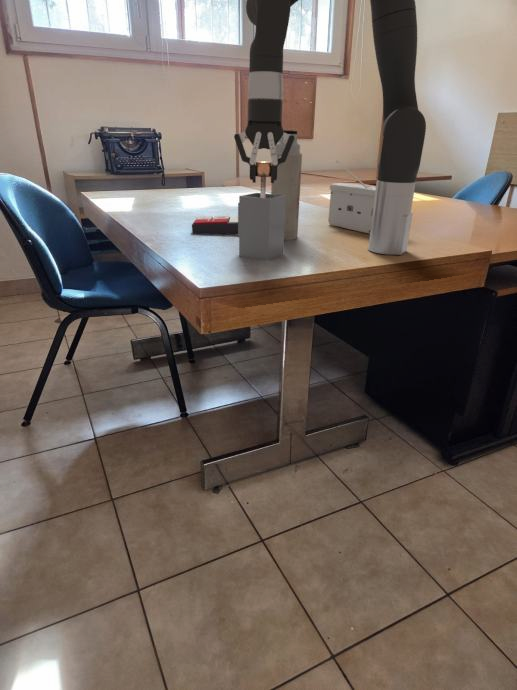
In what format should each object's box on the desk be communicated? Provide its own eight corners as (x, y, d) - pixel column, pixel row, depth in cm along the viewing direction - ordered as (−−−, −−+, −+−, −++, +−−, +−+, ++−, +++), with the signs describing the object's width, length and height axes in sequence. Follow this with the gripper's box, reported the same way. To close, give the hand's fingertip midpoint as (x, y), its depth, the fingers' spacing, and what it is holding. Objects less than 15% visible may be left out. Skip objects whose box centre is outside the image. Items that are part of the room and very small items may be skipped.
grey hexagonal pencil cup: (283, 253, 113) (285, 195, 107) (267, 260, 107) (269, 199, 101) (248, 248, 118) (248, 191, 112) (231, 254, 111) (231, 195, 105)
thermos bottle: (298, 234, 134) (305, 130, 122) (295, 240, 127) (301, 130, 115) (272, 233, 135) (275, 129, 123) (267, 238, 128) (270, 129, 116)
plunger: (278, 248, 112) (281, 162, 104) (266, 253, 107) (269, 163, 99) (257, 245, 115) (258, 160, 106) (244, 250, 110) (245, 161, 101)
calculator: (196, 215, 141) (244, 214, 141) (197, 229, 143) (244, 228, 143) (191, 222, 131) (242, 220, 131) (192, 237, 133) (243, 235, 133)
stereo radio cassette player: (391, 233, 139) (401, 163, 130) (374, 236, 134) (383, 164, 126) (341, 223, 154) (347, 159, 145) (324, 225, 149) (329, 160, 141)
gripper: (296, 99, 100) (292, 181, 108) (233, 98, 100) (233, 180, 108) (299, 97, 94) (294, 185, 101) (231, 95, 94) (231, 183, 101)
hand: (263, 182), depth 104 cm, fingers closed on plunger, 3 cm apart
